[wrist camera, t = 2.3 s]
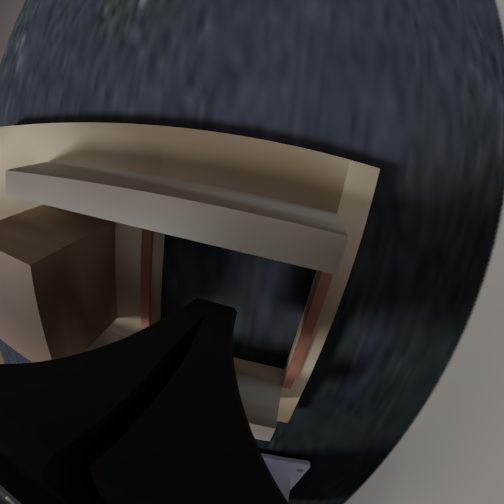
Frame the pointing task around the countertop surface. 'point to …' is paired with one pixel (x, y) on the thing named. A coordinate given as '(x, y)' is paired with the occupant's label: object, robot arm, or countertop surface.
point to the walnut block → (56, 281)
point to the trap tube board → (201, 220)
